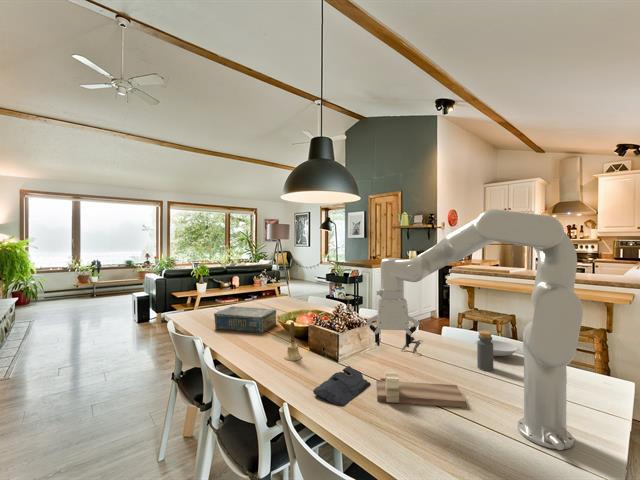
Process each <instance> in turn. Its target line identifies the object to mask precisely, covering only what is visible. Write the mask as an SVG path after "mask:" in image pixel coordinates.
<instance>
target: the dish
mask: <svg viewBox="0 0 640 480" xmlns="http://www.w3.org/2000/svg"><path fill="white" fill-rule="evenodd" d="M479 340H480V339H477V340H475V341H474V343H475V345H477V342H478V341H479ZM491 342H492V343H493V357H494V356H495V357H506V356H511V355H513V354H515V353H516V352H518V351H519V350H520V347H519V346H517V345H516V344H513V343H510V342H507V341H502V340H498V339H497V340H496V339H492V340H491Z"/></svg>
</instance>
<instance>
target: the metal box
mask: <svg viewBox="0 0 640 480" xmlns="http://www.w3.org/2000/svg"><path fill="white" fill-rule="evenodd" d="M277 310H278V309H276V308H275V309H274V308H261V307H259V308H258V307H248V306H247V307H246V306H236V305H235V306H233V305H231V306H230V307H228V308H224V309H222V310H219V311H217V312H214V313H213V315H214V317H213V318H214V326H215V327H214V329H216V330H221V329H222V330H223V331H224V330H225V331H234V330H236V331H237V332H244V331H247V332H246V333H254V332H257V333H256V334H263V333H264V331H265V332H266V331H268V330H269V329H270V328H272V327H274V326H276V325H275V324H277ZM273 325H274V326H273ZM271 326H272V327H271ZM268 328H269V329H268ZM267 329H268V330H267ZM222 330H221V331H222ZM236 331H235V332H236Z"/></svg>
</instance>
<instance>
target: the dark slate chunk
mask: <svg viewBox="0 0 640 480" xmlns="http://www.w3.org/2000/svg"><path fill="white" fill-rule="evenodd" d="M342 371H343V372H342ZM342 371H338V372H336V373H333V374H332V375H331V376H330V377H329V378H328V379H327V380H325V381H323V382H321V384H319V385H318V386H317V387H315V388H313V391H312V392H313V394H314V395H315V396H318V397H320V398H322V399H325V400H327V401H328V402H329V403H331V404H333V405H335V406H340V407H345V406H347V405H348V404H349V403H351V402H352V401H353V400H354V399H355V398H357V397H358V396H360V394H362V393H363V392H364V391H365V390H366V389H368V388H369V387H370V386H371V384H372V383H371V382H369V381H368V380H367V379H365V378H364V375H363V373H362V372H361V371H360V370H357V369H355V368H353V367H351V366H350V365H348V366H345V367H344V368H342Z"/></svg>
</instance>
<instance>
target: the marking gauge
mask: <svg viewBox="0 0 640 480" xmlns="http://www.w3.org/2000/svg"><path fill="white" fill-rule="evenodd" d="M385 377H386V401H387V402H386V403H395V404H397V403H398V404H400V403H399V382H400V378H399V374H398V371H397V372H394V371H385Z"/></svg>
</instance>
